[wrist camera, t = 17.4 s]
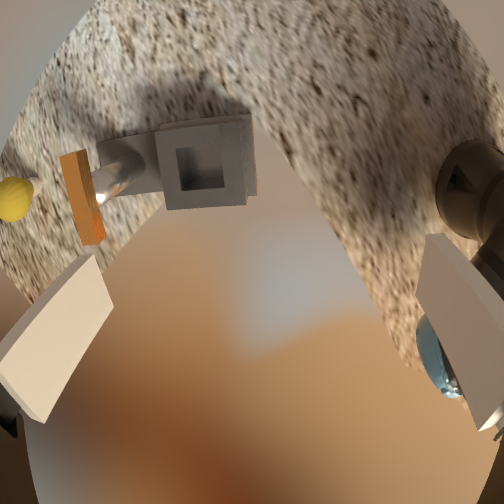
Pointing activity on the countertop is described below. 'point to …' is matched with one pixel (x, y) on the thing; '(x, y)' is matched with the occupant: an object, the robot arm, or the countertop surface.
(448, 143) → the countertop surface
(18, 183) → the light bulb
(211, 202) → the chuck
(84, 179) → the key
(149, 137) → the mat
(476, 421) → the robot arm
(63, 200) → the countertop surface
